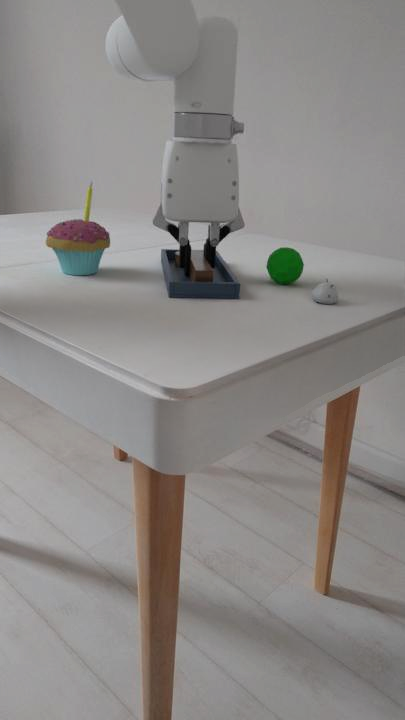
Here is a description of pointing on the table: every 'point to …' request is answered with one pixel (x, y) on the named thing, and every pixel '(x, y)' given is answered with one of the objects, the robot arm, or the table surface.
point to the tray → (184, 288)
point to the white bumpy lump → (325, 293)
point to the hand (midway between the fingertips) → (196, 272)
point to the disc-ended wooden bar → (198, 267)
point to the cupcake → (79, 243)
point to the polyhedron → (285, 265)
